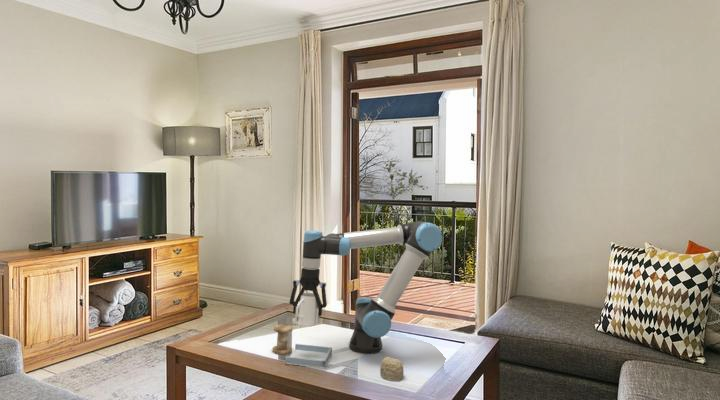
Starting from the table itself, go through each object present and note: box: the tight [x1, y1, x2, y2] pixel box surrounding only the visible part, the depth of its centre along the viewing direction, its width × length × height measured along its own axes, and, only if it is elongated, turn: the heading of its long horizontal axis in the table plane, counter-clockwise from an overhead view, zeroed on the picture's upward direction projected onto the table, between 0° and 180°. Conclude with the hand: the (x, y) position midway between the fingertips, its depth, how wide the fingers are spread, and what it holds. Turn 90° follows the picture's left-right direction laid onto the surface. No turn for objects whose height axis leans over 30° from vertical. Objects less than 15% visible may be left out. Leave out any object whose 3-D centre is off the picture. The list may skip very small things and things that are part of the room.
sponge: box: [379, 356, 405, 382], centre depth 174 cm, size 9×10×10 cm
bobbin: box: [271, 324, 294, 355], centre depth 193 cm, size 8×8×10 cm
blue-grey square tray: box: [284, 343, 333, 370], centre depth 186 cm, size 16×17×3 cm
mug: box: [296, 292, 318, 327], centre depth 186 cm, size 12×8×12 cm
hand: (306, 322), depth 186 cm, fingers closed on mug, 8 cm apart
